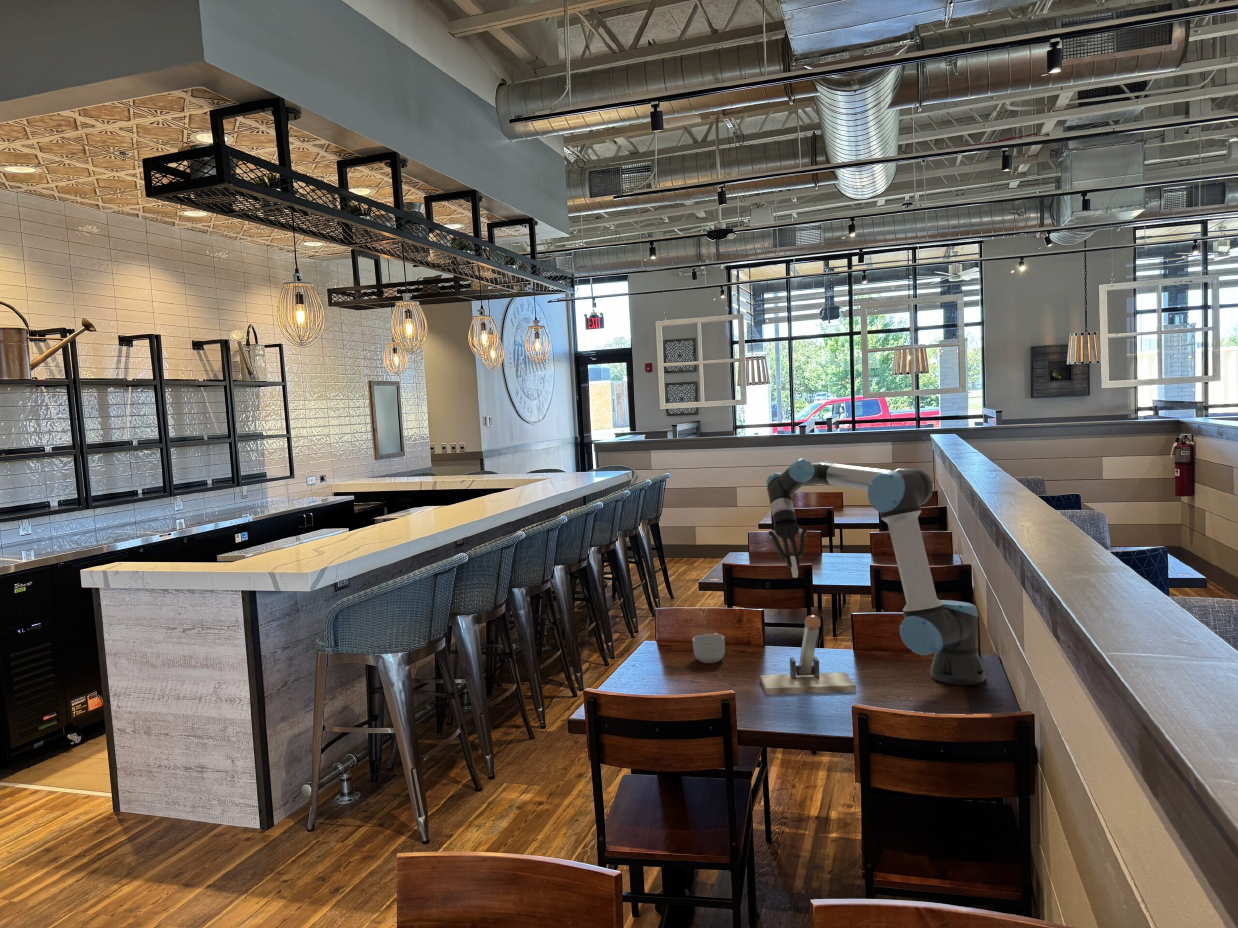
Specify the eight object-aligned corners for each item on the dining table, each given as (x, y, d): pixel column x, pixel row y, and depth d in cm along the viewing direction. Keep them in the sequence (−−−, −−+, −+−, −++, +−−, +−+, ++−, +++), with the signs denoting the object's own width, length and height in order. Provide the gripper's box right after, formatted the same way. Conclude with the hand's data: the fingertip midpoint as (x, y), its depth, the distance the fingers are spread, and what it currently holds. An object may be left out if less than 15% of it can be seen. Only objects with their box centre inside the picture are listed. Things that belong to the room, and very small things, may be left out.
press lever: (811, 666, 248) (820, 611, 230) (813, 679, 244) (823, 623, 227) (794, 667, 248) (803, 612, 230) (797, 679, 245) (805, 624, 227)
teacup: (714, 667, 264) (714, 643, 264) (686, 662, 271) (685, 638, 271) (735, 656, 275) (735, 633, 275) (708, 651, 282) (707, 629, 282)
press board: (845, 678, 248) (845, 654, 248) (856, 691, 236) (855, 666, 236) (760, 681, 249) (759, 657, 248) (766, 694, 237) (765, 669, 236)
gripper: (801, 519, 278) (814, 580, 264) (763, 521, 278) (774, 582, 264) (804, 507, 272) (817, 568, 258) (765, 509, 272) (776, 571, 258)
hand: (795, 575), depth 261 cm, fingers closed
